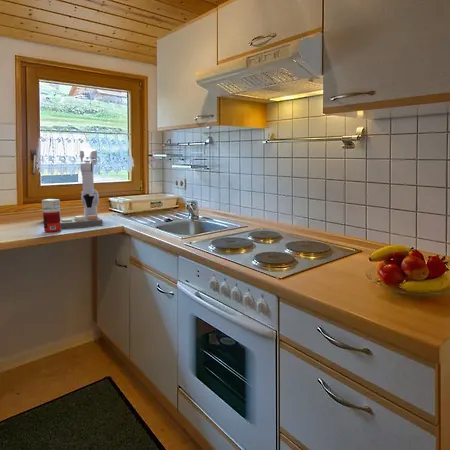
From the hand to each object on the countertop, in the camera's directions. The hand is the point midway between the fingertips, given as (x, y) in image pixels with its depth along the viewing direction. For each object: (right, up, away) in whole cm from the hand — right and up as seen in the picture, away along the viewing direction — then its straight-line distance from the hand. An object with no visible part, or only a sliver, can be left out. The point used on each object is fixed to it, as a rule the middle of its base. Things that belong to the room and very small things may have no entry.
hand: (89, 207), depth 226 cm
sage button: (-10, -10, -7) cm, 16 cm away
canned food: (-12, -14, -20) cm, 27 cm away
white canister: (-27, -7, +12) cm, 30 cm away
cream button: (-4, -8, -3) cm, 10 cm away
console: (-4, -10, -3) cm, 11 cm away
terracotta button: (+2, -7, 0) cm, 8 cm away
